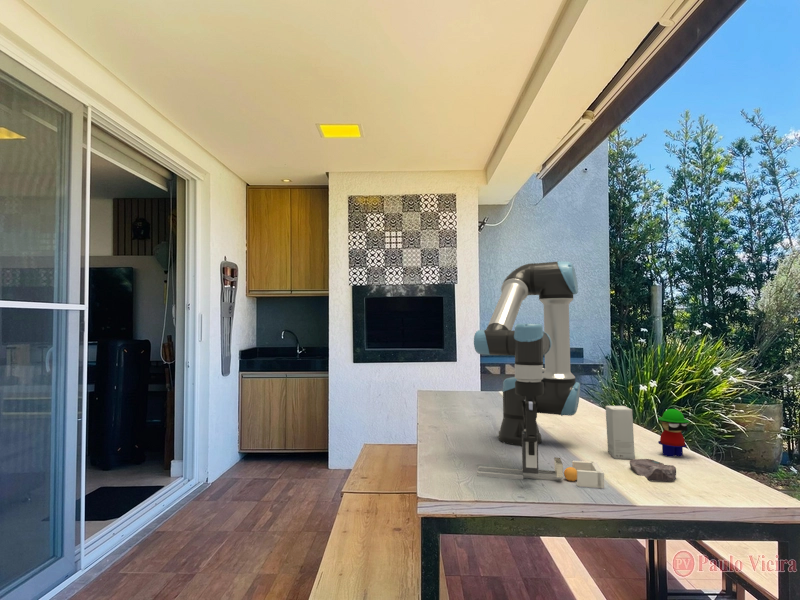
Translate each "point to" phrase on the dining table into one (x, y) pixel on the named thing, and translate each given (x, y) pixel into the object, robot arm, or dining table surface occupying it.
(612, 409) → the skincare box
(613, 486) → the dining table surface
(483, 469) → the pitch
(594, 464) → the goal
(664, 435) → the toy
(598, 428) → the dining table surface
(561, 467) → the dark textured box
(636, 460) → the rock
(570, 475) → the ball
